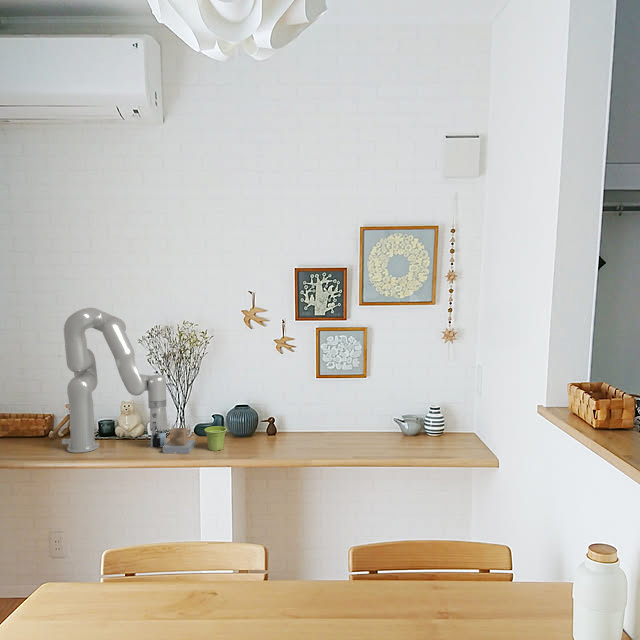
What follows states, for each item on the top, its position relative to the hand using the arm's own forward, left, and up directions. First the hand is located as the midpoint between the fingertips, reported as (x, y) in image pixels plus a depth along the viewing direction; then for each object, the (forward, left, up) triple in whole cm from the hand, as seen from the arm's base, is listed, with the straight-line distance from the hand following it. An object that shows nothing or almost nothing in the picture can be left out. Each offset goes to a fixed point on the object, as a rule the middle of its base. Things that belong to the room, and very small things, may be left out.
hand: (158, 444), depth 260 cm
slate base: (+10, -5, -1) cm, 12 cm away
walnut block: (+10, -5, +2) cm, 12 cm away
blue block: (0, 0, -1) cm, 1 cm away
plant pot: (+26, -4, -1) cm, 26 cm away
